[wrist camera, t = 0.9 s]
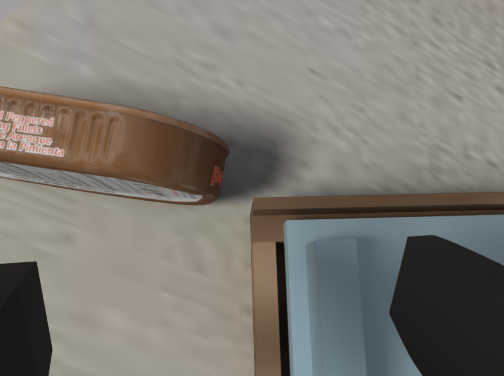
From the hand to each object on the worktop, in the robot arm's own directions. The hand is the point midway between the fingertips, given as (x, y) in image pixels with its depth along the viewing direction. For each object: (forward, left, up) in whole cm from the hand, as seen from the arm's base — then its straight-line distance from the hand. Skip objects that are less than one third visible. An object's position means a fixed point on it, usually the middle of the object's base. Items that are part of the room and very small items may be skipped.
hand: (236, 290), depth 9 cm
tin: (+6, +8, -14) cm, 17 cm away
